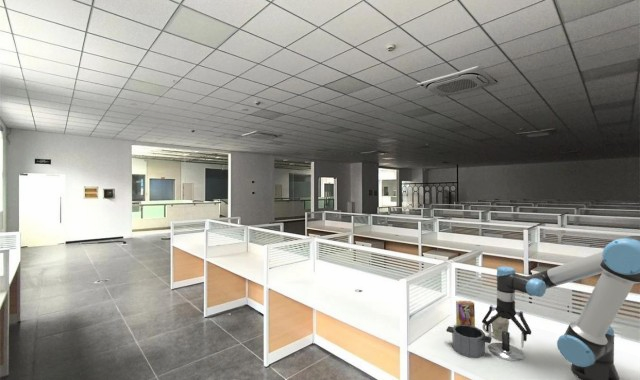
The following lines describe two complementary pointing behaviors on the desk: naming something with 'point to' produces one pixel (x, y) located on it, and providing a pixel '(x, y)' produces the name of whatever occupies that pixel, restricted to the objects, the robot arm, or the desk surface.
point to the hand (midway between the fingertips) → (505, 342)
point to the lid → (506, 349)
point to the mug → (498, 327)
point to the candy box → (465, 313)
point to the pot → (468, 340)
